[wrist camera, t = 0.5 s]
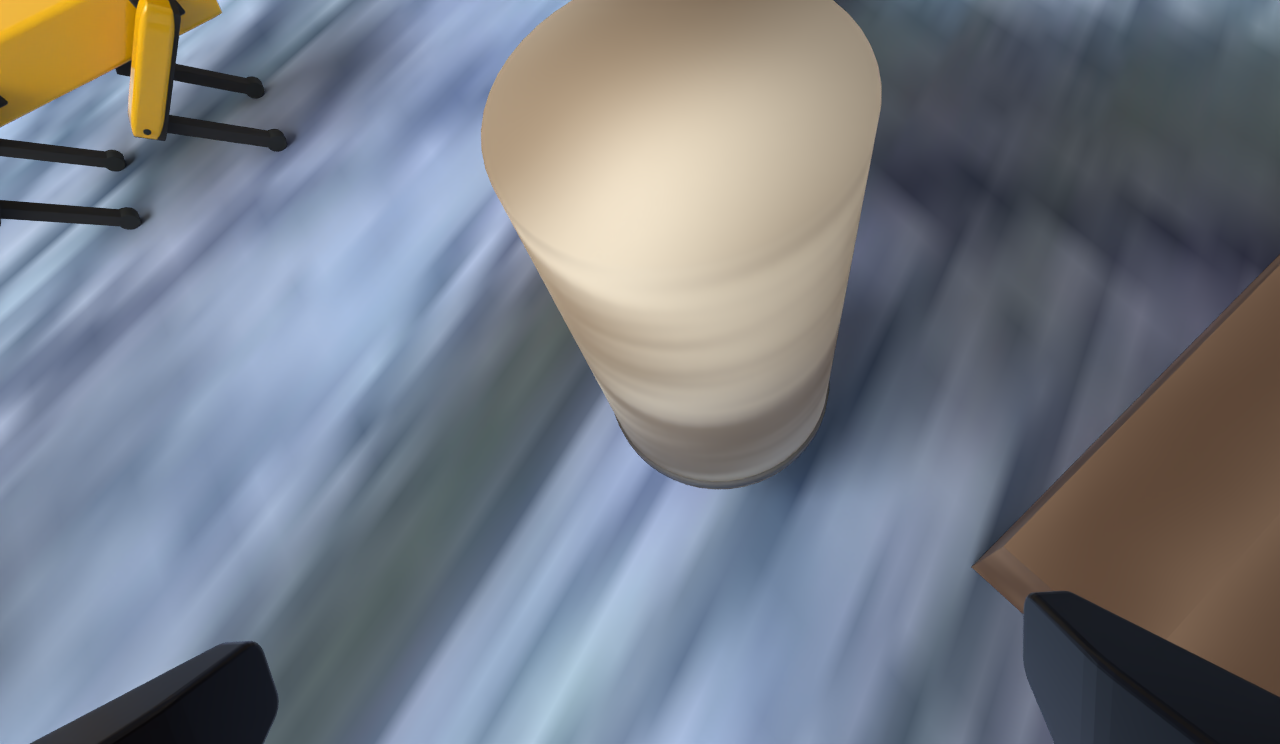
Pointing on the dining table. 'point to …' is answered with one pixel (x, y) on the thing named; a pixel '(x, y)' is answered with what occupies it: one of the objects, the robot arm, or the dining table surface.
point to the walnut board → (1176, 503)
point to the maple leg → (693, 211)
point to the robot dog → (90, 47)
